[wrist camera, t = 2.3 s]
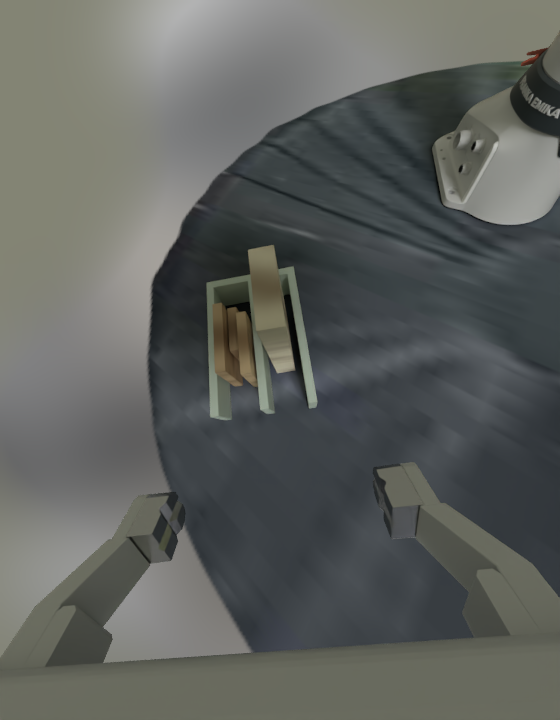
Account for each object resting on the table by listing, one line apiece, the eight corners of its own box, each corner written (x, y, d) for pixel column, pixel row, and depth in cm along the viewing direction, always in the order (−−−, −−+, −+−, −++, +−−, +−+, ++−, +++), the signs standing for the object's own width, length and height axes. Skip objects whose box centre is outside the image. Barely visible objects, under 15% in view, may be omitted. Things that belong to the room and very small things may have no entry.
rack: (219, 301, 39) (206, 282, 34) (295, 287, 38) (293, 266, 33) (224, 420, 33) (210, 416, 28) (316, 407, 32) (317, 401, 27)
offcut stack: (231, 330, 37) (212, 304, 30) (256, 325, 37) (243, 298, 30) (234, 389, 34) (215, 376, 27) (262, 385, 33) (249, 371, 26)
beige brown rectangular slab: (270, 317, 37) (247, 249, 24) (286, 314, 37) (273, 244, 23) (277, 373, 34) (256, 331, 21) (295, 370, 34) (285, 326, 20)
